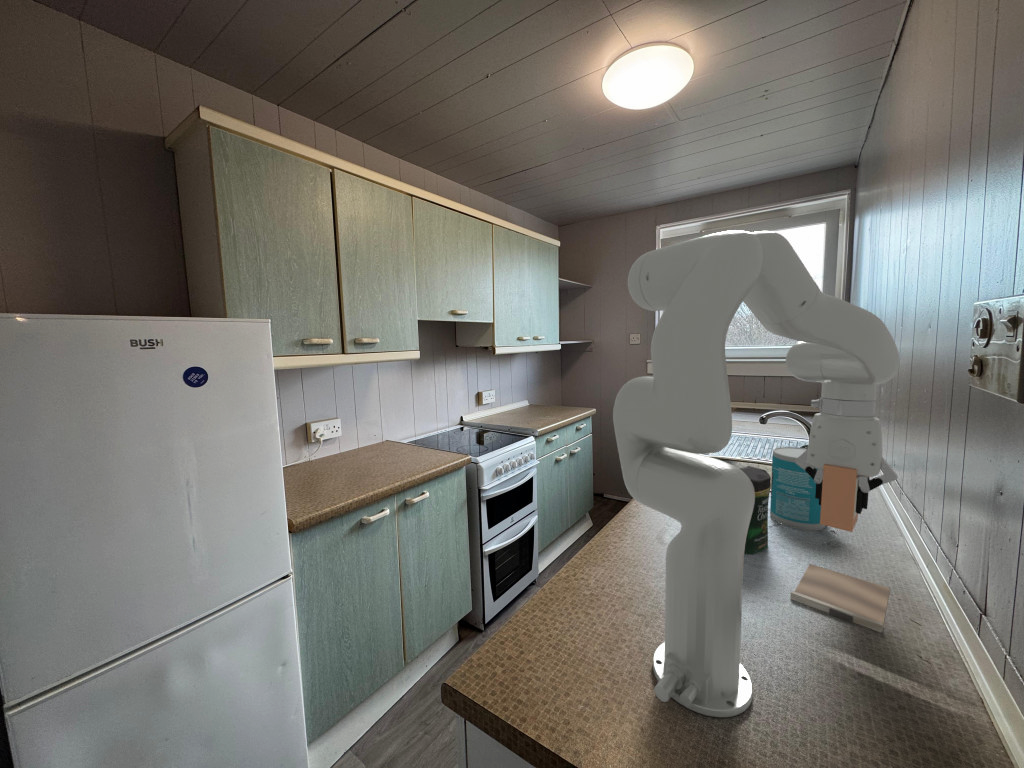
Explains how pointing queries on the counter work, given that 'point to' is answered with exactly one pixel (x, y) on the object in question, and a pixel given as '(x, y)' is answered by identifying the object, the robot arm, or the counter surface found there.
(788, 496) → the food can
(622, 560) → the counter surface
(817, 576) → the shelf board
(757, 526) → the coffee jar
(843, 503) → the salmon upright cuboid
